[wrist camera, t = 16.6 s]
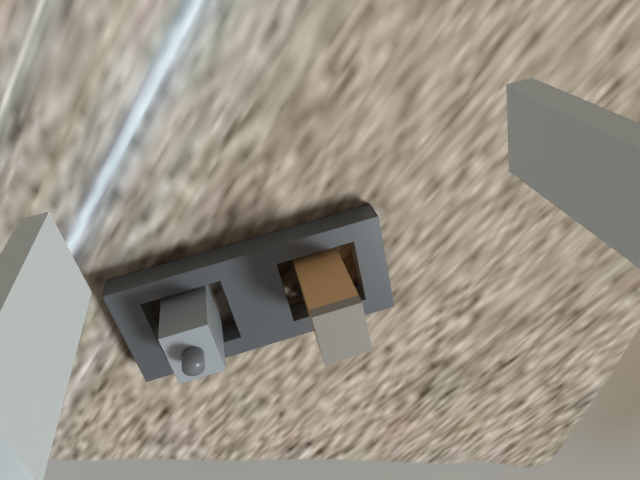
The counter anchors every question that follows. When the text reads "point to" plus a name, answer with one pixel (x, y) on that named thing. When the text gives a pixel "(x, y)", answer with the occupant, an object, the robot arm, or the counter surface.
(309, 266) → the plug
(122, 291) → the gray fixture base
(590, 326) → the counter surface
